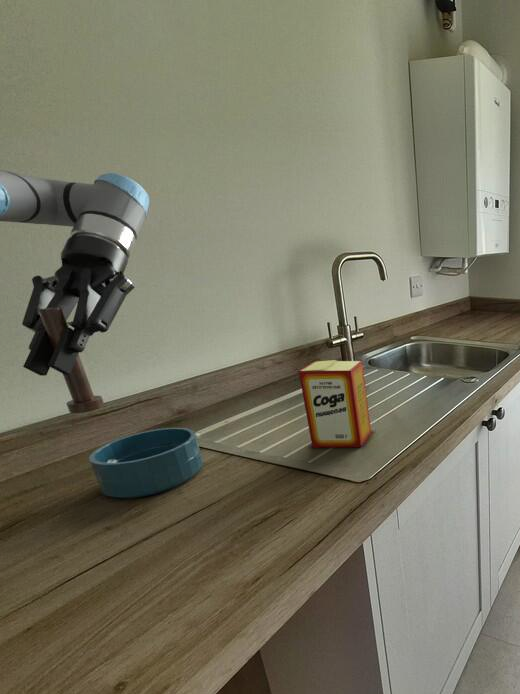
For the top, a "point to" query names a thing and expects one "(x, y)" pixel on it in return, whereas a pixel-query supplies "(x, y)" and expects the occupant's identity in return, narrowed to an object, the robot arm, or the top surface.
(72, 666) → the top surface
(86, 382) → the stirring stick
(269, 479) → the top surface
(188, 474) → the bowl
